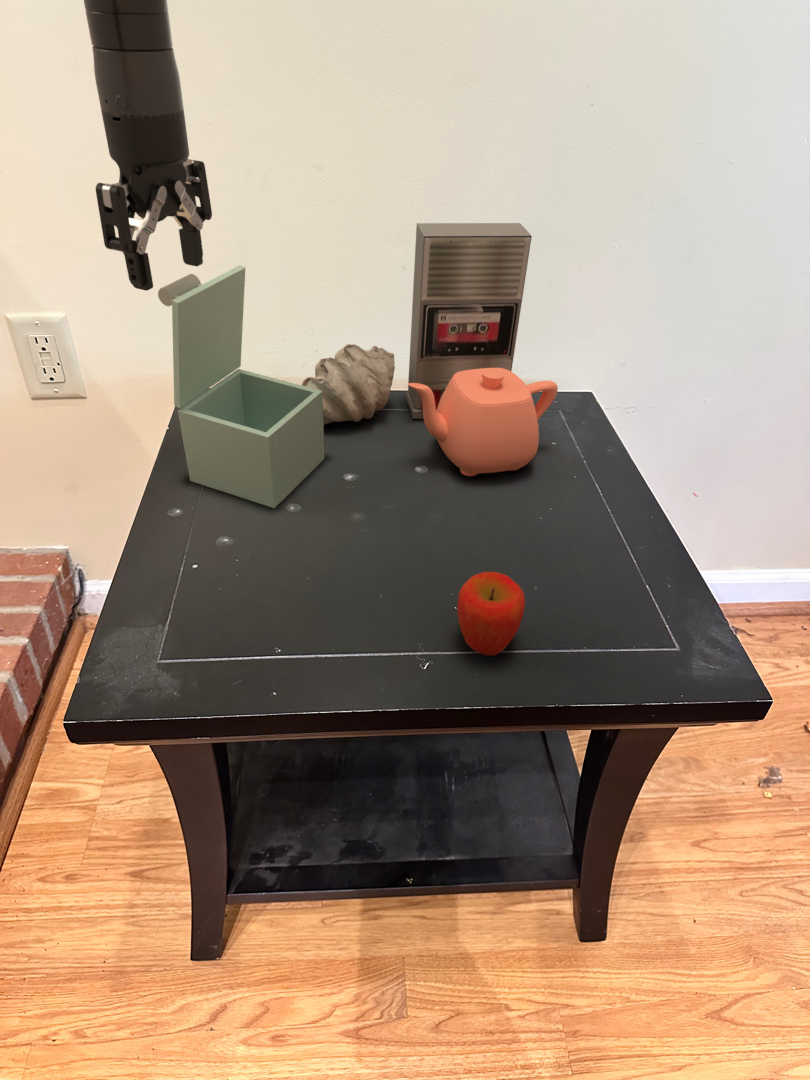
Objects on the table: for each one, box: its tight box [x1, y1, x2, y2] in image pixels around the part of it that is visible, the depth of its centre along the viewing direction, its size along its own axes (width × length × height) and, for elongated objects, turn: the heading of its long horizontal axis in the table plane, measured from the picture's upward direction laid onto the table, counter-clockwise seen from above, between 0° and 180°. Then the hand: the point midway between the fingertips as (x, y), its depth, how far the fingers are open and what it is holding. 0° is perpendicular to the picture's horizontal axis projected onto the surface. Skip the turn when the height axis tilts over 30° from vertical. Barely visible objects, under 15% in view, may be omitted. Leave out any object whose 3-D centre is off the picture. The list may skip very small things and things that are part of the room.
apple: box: [457, 571, 526, 657], centre depth 68 cm, size 6×6×8 cm
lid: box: [157, 265, 246, 409], centre depth 83 cm, size 13×12×5 cm
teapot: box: [407, 368, 559, 477], centre depth 93 cm, size 13×20×12 cm, turn 106°
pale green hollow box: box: [177, 368, 325, 509], centre depth 89 cm, size 12×12×10 cm
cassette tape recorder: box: [405, 222, 533, 420], centre depth 98 cm, size 14×6×25 cm, turn 99°
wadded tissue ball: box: [301, 343, 396, 426], centre depth 100 cm, size 10×15×10 cm
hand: (169, 276), depth 79 cm, fingers open, 8 cm apart
